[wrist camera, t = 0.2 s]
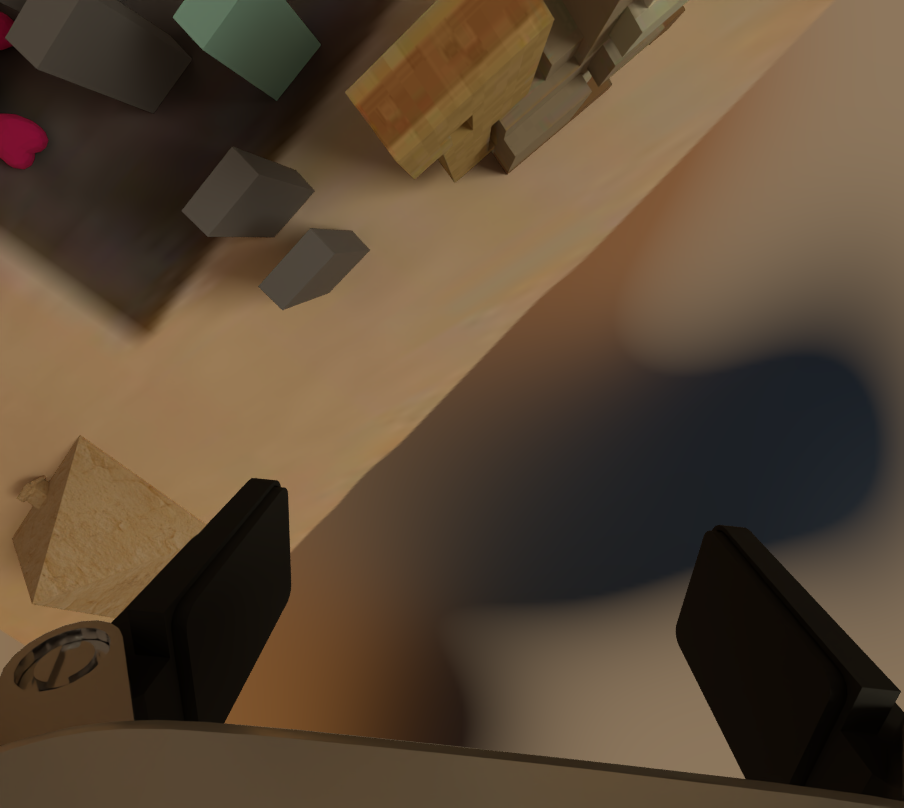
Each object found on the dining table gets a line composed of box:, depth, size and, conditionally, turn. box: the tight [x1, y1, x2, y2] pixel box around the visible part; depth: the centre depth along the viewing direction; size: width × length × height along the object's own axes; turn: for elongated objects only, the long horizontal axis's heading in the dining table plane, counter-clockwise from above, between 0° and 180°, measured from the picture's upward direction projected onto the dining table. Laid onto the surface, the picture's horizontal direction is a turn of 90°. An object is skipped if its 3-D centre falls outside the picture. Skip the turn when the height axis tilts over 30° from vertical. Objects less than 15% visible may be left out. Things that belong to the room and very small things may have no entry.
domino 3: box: [182, 146, 315, 237], centre depth 32 cm, size 5×2×10 cm, turn 133°
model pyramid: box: [12, 435, 207, 618], centre depth 44 cm, size 17×17×10 cm
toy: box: [345, 0, 689, 182], centre depth 25 cm, size 6×17×20 cm, turn 128°
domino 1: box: [5, 0, 192, 114], centre depth 30 cm, size 5×2×10 cm, turn 133°
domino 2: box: [173, 0, 321, 101], centre depth 29 cm, size 5×2×10 cm, turn 133°
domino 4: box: [258, 228, 370, 310], centre depth 34 cm, size 5×2×10 cm, turn 133°
